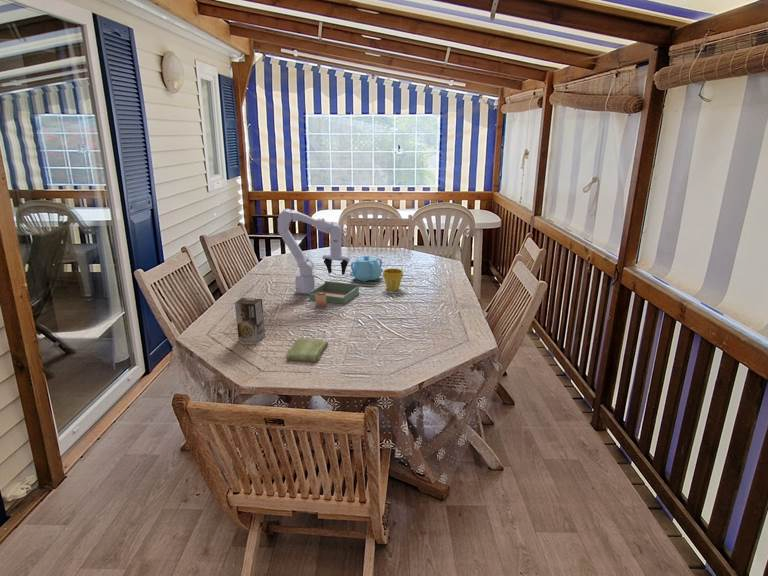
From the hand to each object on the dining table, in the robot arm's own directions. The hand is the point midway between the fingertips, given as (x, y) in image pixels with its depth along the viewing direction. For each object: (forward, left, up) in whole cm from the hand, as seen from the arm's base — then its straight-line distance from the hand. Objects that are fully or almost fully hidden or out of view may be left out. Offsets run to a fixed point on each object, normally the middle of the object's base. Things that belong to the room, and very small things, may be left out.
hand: (336, 273), depth 261 cm
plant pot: (+26, +14, -10) cm, 31 cm away
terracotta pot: (+3, -24, -9) cm, 26 cm away
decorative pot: (+6, +26, -10) cm, 28 cm away
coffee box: (-5, -69, -10) cm, 69 cm away
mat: (+3, -24, -9) cm, 26 cm away
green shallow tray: (+3, -9, -9) cm, 13 cm away
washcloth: (+22, -73, -10) cm, 77 cm away
